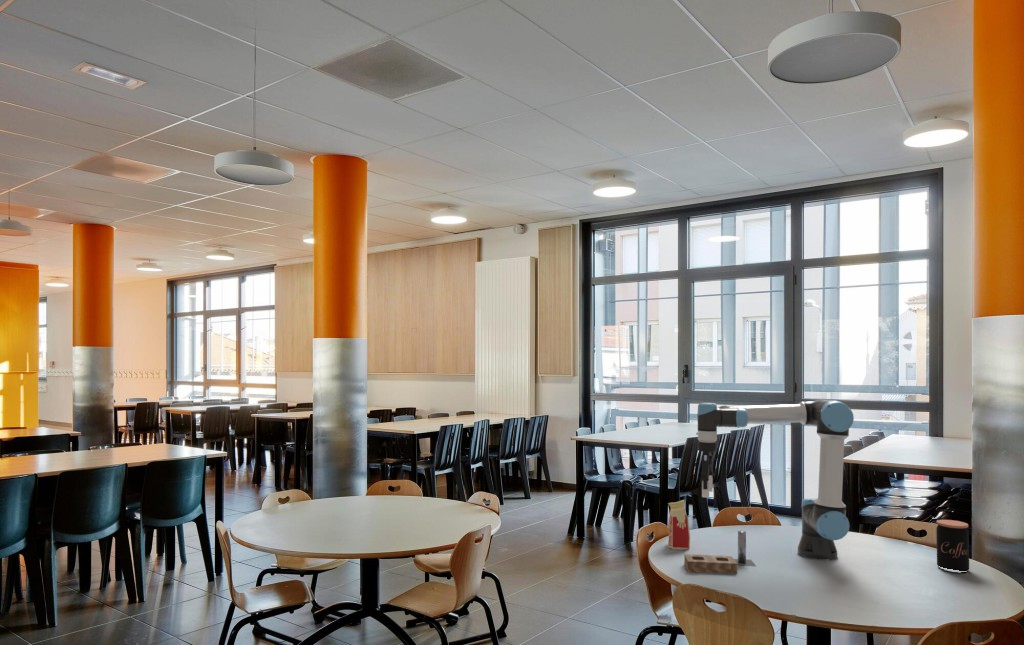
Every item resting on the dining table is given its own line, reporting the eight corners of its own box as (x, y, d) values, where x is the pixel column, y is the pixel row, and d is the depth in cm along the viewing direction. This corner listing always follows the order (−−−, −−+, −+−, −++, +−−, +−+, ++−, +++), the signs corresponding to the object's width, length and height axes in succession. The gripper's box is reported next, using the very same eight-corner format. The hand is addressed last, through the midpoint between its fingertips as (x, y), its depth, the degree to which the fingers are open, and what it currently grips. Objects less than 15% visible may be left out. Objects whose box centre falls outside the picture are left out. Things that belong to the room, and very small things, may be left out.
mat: (751, 560, 278) (751, 559, 278) (756, 567, 269) (756, 566, 269) (728, 559, 279) (728, 558, 279) (732, 566, 270) (732, 565, 270)
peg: (745, 561, 275) (744, 530, 276) (746, 563, 272) (746, 532, 273) (737, 561, 276) (737, 530, 276) (738, 563, 273) (738, 532, 273)
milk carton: (687, 544, 301) (687, 497, 302) (690, 550, 292) (690, 502, 293) (666, 543, 302) (666, 497, 303) (668, 549, 293) (669, 501, 294)
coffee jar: (938, 570, 268) (937, 523, 269) (936, 563, 277) (935, 518, 278) (971, 575, 263) (970, 527, 264) (967, 568, 272) (966, 521, 273)
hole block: (731, 566, 270) (731, 556, 270) (737, 574, 260) (737, 563, 260) (684, 564, 272) (684, 554, 272) (688, 572, 262) (688, 561, 262)
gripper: (701, 437, 294) (701, 488, 293) (693, 444, 271) (694, 499, 270) (719, 438, 291) (719, 489, 290) (713, 445, 268) (714, 500, 267)
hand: (707, 494), depth 280 cm, fingers open, 13 cm apart
